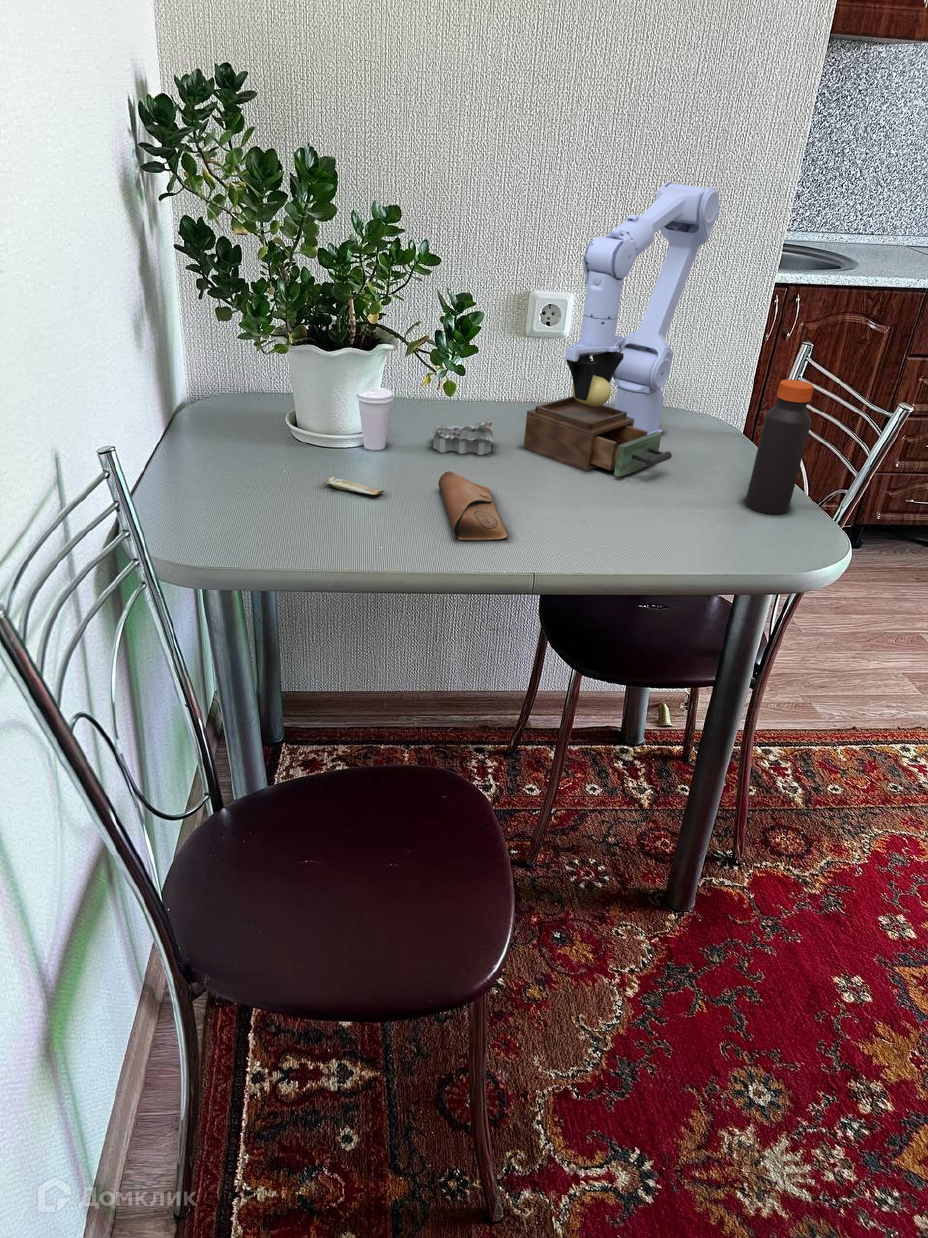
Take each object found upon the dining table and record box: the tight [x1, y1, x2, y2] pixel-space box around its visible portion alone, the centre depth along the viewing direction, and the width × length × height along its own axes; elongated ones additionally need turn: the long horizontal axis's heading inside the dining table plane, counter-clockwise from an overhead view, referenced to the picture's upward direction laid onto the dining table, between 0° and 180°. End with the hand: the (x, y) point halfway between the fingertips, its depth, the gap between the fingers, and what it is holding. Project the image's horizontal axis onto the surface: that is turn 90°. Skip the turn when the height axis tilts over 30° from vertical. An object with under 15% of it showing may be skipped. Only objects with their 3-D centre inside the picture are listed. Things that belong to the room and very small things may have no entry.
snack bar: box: [322, 476, 385, 496], centre depth 140 cm, size 10×2×3 cm
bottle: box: [745, 378, 815, 515], centre depth 140 cm, size 7×7×20 cm
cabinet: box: [523, 402, 634, 472], centre depth 160 cm, size 14×12×7 cm
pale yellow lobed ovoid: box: [571, 375, 612, 406], centre depth 156 cm, size 5×7×5 cm
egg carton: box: [432, 421, 494, 456], centre depth 160 cm, size 11×8×4 cm
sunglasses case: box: [437, 470, 509, 542], centre depth 135 cm, size 18×7×7 cm, turn 9°
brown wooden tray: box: [534, 395, 627, 430], centre depth 158 cm, size 11×12×1 cm
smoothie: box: [356, 382, 394, 451], centre depth 155 cm, size 6×6×14 cm
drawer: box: [591, 425, 673, 478], centre depth 155 cm, size 18×11×5 cm, turn 46°
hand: (589, 396), depth 156 cm, fingers closed on pale yellow lobed ovoid, 5 cm apart
